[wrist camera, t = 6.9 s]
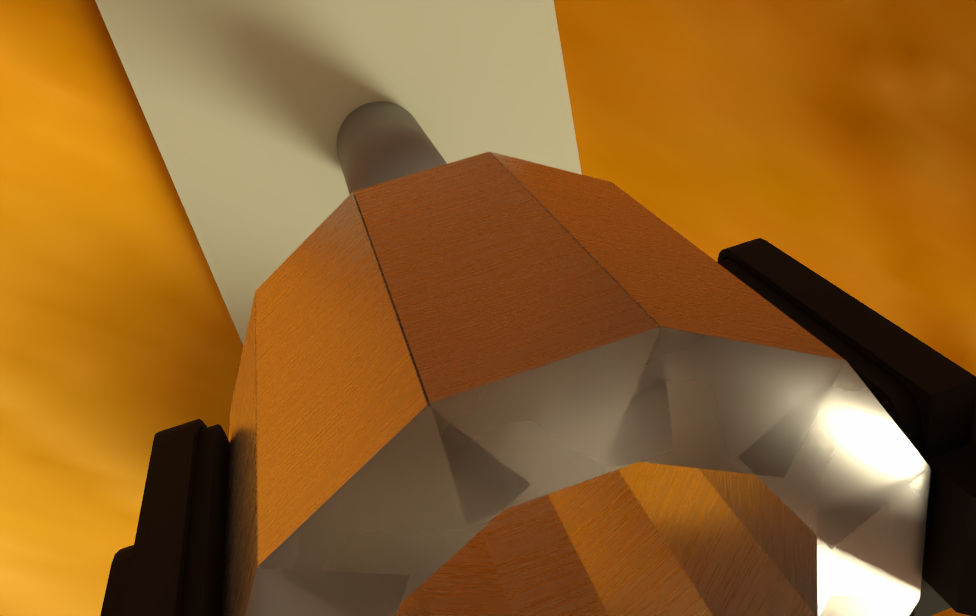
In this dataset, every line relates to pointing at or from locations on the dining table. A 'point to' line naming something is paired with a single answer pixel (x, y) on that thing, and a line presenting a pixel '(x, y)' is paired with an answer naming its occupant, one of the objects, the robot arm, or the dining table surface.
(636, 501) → the white hollow cylinder
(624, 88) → the dining table surface
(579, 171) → the square base peg stand
